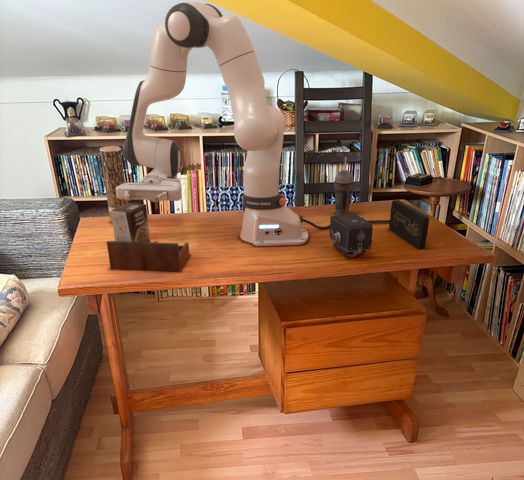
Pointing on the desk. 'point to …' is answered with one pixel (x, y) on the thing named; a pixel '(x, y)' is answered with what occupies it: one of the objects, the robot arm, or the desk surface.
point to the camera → (351, 233)
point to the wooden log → (112, 175)
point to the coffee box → (131, 223)
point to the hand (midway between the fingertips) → (142, 198)
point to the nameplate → (409, 223)
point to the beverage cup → (343, 190)
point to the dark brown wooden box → (147, 255)
